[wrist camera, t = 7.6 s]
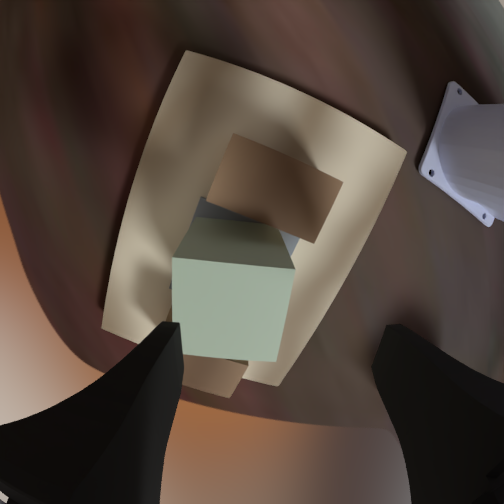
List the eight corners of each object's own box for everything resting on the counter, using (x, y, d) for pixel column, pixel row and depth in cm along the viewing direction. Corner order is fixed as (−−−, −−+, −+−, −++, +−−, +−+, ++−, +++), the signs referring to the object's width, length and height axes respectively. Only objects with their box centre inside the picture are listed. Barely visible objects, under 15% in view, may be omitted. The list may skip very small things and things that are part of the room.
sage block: (277, 225, 16) (295, 269, 11) (266, 296, 18) (276, 362, 12) (196, 216, 16) (171, 257, 10) (192, 289, 18) (173, 352, 12)
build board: (395, 150, 16) (446, 156, 11) (275, 373, 22) (283, 426, 17) (190, 57, 14) (169, 24, 9) (108, 317, 20) (79, 363, 15)
